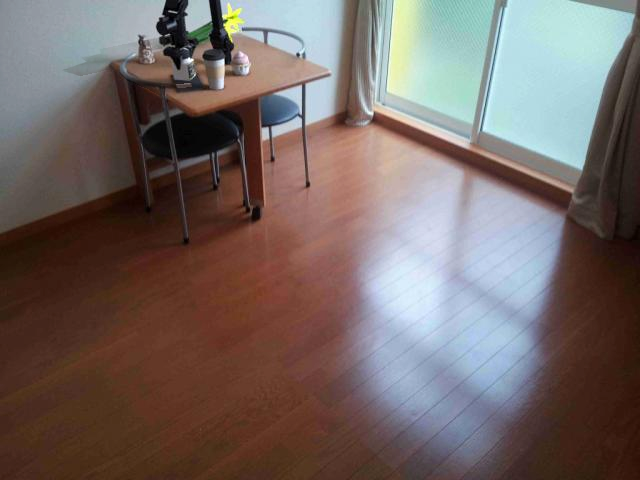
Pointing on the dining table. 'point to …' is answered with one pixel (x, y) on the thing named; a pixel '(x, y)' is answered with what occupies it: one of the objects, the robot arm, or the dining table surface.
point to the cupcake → (240, 64)
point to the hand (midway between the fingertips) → (183, 66)
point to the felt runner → (194, 81)
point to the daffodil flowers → (204, 31)
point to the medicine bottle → (184, 67)
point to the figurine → (145, 50)
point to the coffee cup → (214, 68)
